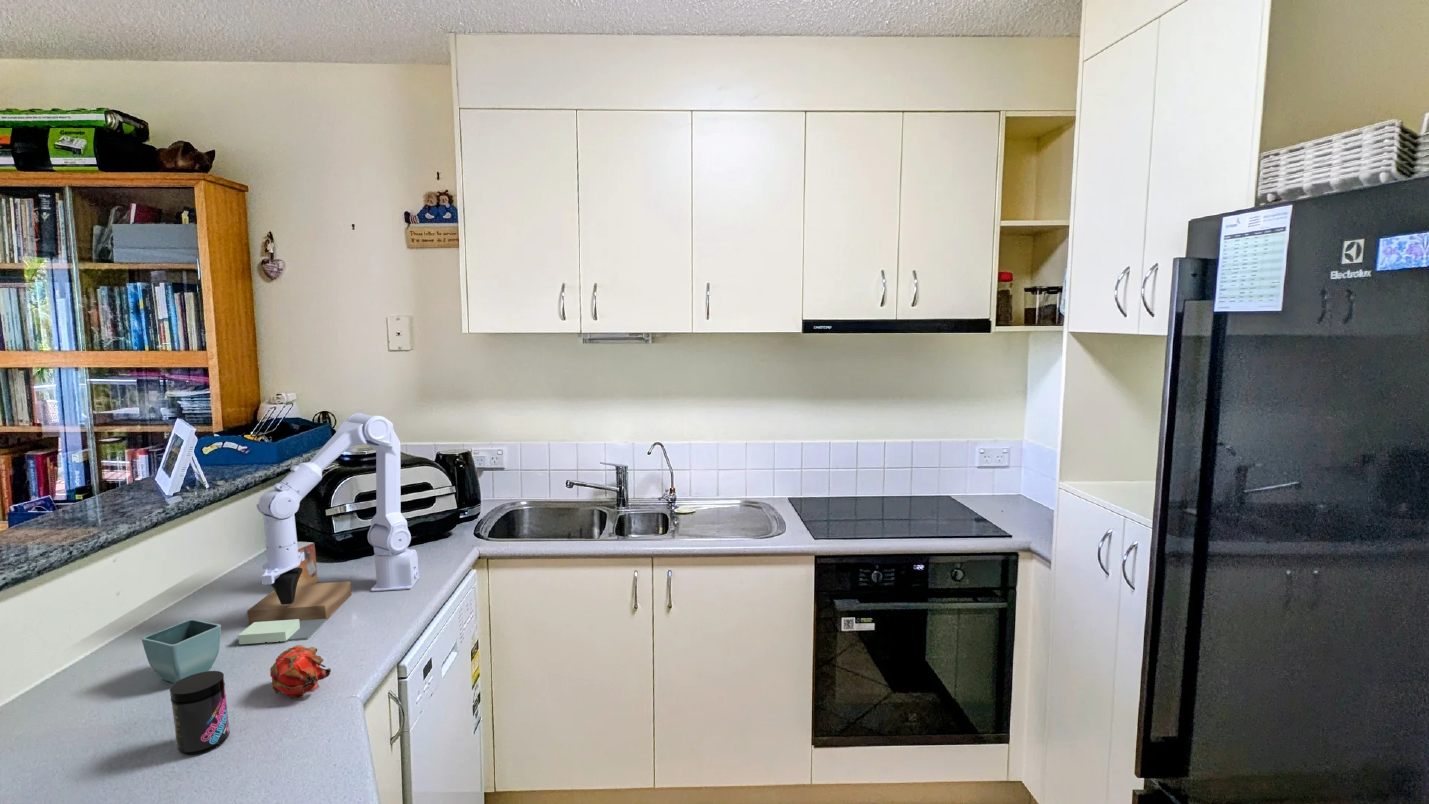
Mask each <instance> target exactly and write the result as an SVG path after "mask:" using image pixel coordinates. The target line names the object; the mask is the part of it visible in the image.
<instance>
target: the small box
mask: <svg viewBox="0 0 1429 804" xmlns="http://www.w3.org/2000/svg"><path fill="white" fill-rule="evenodd" d="M297 546H298V552H304V558H305V560H304V561H301V563H300V565H299V566H298V567H296V568H302V573H301V575H300V577H299V580H298V583H297V585H300V584H316V583H318V582H319V581H318V570H317V568H318V567H317V558H316V546H315V542H309V541H308V542H307V541H297Z"/></svg>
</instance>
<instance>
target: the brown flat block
mask: <svg viewBox="0 0 1429 804" xmlns="http://www.w3.org/2000/svg"><path fill="white" fill-rule="evenodd" d="M351 585H352V584H351V581H348V580H347V581H332V582H321V583H318V582H316V583H314V584H300V585H297V587H296V593H295V599H294V602H293V603H292V604H285V605H281V603H280V600H279V598H278V596H277V594H276V591H275V590H274V589H273V590H272V591H271V592H270V593H268V594H267V595H265V596H264V597H263V598H262V599H261V600H259V601H258V602H257V603H255V604H254V605H253V606H251V607H250V608H249V609H248V610H247V611H246V612H247V622H248V627H249V626H250V625H251V624H253V623H254V622H264V621H279V620H294V619H299V621H302V620H316V619H326V621H328V620H329V618H331V616H332V615H334V613H336V611H338V610H339V608H340V607H341V606H342V605H343V604H344V603H345V602H347V601H348V599H349V598H351V596H352V587H351Z"/></svg>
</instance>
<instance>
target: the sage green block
mask: <svg viewBox="0 0 1429 804" xmlns="http://www.w3.org/2000/svg"><path fill="white" fill-rule="evenodd" d="M299 628H300V623H299V619H294V620H279V621H264V622H254V623H253V624H251V625H250V626H249V625H248V626H247V627H246V628H245V629H244V630H243V631H242V632H240V633H239V634H238V640H239V645H246V644H247V645H250V644H252V643H253V644H263V643H264V644H266V643H265V642H267V643H274V642H275V643H278V642H279V641H280V642H288V641H287V640H288V639H289V638H290V637H291V636H292V635H293V634H294V633H295V632H296V631H297V630H298V629H299Z"/></svg>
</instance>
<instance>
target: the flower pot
mask: <svg viewBox="0 0 1429 804" xmlns="http://www.w3.org/2000/svg"><path fill="white" fill-rule="evenodd" d="M221 629H222V624H219V623H214V622H210V621H209V622H208V621H203V620H200V619H193V618H190V619H187V620H184V621H181V622H179V623H177V624H175V625H172V626H169V627H167V628H165V629H162V630H159V631H157V632H156V631H155V632H154V633H151V634H149V635H146V636H144V637H142V638H141V642H142V645H143V648H144V649H143V650H144V652H145V655H146V659H147V662H148V664H149V666H150V668H151V669H152V670H153V671H154V672H155V674H156V675H157V676H158V677H160V678H161V679H162V680H164V681H167V682H170V683H171V682H172V683H173V684H174V683H176V682H177V681H179V680H181V679H183V678H185V677H188V676H190V675H193V674H197V673H201V672H207V671H211V668H212V667H213V666H214V664H215V662H216V660H217V657H218V655H219V651H220V645H221V644H220V643H221V631H222V630H221Z"/></svg>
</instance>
